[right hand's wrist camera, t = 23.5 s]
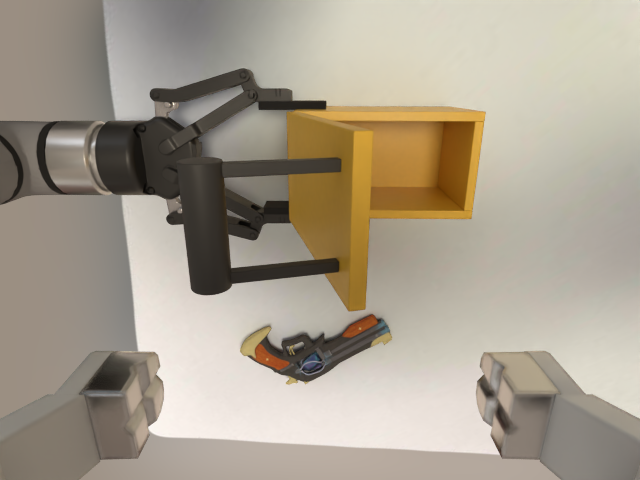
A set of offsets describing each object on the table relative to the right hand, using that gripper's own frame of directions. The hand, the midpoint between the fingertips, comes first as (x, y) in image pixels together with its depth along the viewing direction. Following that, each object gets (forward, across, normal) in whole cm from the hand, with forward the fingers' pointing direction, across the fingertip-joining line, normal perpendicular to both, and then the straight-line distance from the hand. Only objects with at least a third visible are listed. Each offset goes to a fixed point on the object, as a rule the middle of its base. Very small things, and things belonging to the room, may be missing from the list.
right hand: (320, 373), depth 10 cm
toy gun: (+40, +1, +26) cm, 48 cm away
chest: (+40, -6, 0) cm, 41 cm away
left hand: (+34, -1, 0) cm, 34 cm away
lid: (+21, 0, 0) cm, 21 cm away
